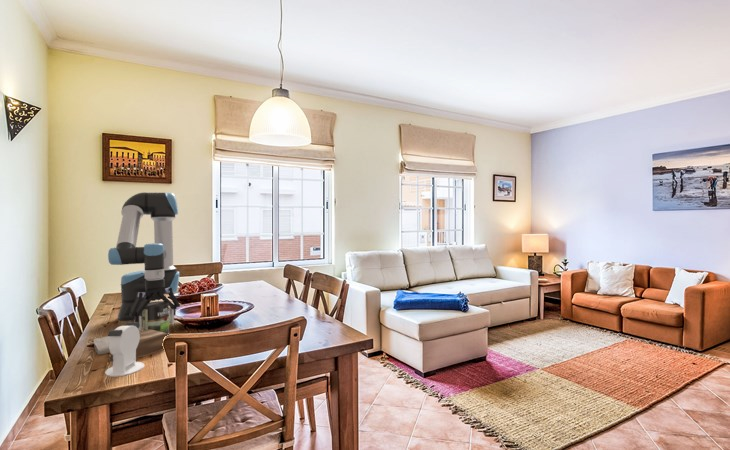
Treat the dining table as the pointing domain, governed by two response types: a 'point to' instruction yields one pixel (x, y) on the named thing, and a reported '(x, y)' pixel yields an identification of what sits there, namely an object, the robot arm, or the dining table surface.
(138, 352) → the walnut box
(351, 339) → the dining table surface
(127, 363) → the white small appliance
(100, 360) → the dining table surface
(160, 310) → the coffee can
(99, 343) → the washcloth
